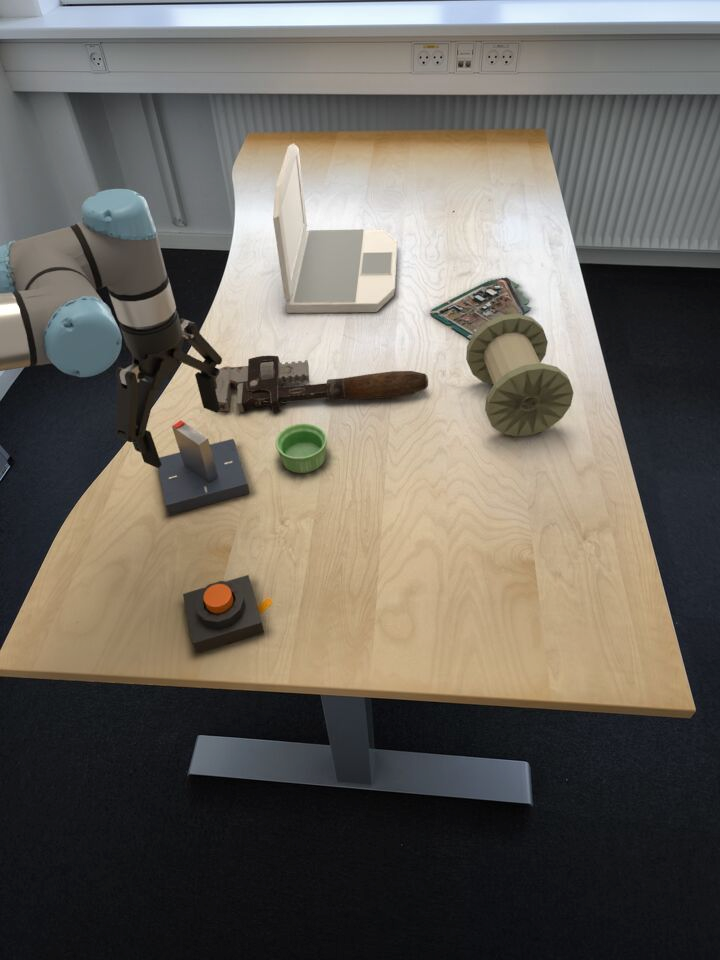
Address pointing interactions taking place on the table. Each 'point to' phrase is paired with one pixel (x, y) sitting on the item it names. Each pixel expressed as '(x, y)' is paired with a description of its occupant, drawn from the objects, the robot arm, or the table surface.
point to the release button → (218, 598)
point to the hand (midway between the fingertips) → (183, 435)
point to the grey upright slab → (195, 451)
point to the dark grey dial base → (202, 479)
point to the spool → (518, 375)
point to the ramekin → (302, 447)
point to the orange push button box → (223, 616)
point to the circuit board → (481, 306)
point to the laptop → (328, 255)
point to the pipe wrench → (268, 374)
